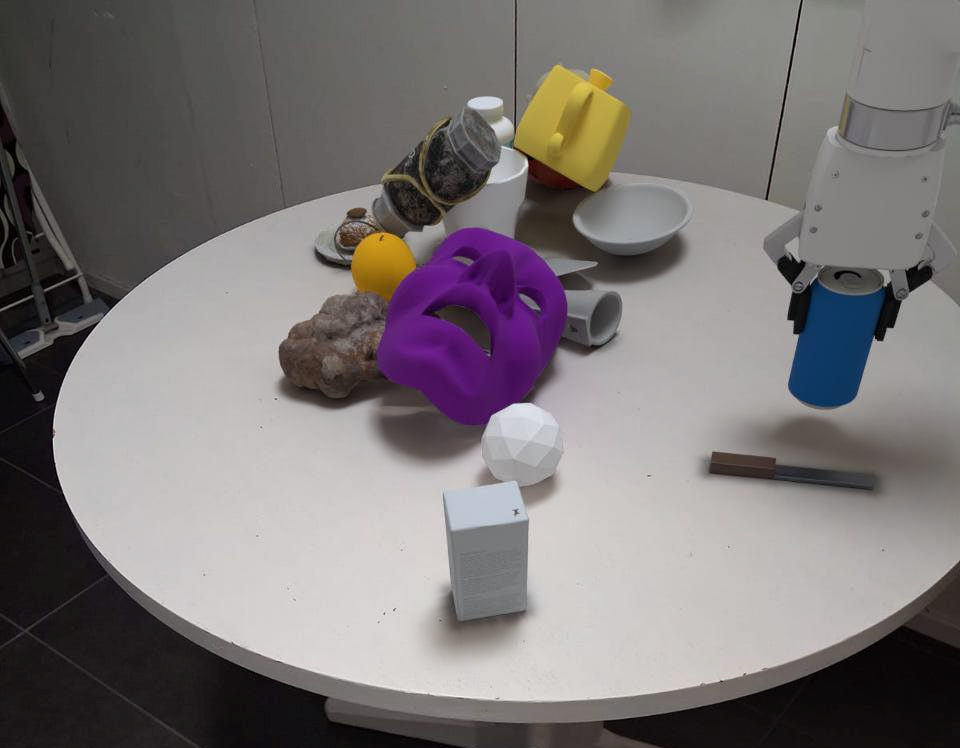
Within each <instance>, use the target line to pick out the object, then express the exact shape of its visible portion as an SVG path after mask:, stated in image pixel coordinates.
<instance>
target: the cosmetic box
mask: <svg viewBox="0 0 960 748" xmlns="http://www.w3.org/2000/svg"><path fill="white" fill-rule="evenodd" d="M442 503H443V504H442V505H443V514H444V525H445V535H446V545H447V554H448V555H447V556H448V568H449V577H450V578H449V579H450V581H449V582H450V587H451V591H452V597H453V602H454V607H455V613H456V618H457V621H458V622H465V621H470V620H471V621H472V620H477V619H483V618H490V617H494V616H500V615H507V614H512V613H519V612H526V611H527V603H528V602H527V601H528V571H529V570H528V568H529V526H530V518H529V515H528V511H527V509H526V505H525V502H524V499H523V496H522V492H521V489H520V487H519V485H518V482H517V481H510V482H499V483H492V484H485V485H480V486H473V487H467V488H460V489H455V490H448V491H443V492H442Z"/></svg>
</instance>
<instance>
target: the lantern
mask: <svg viewBox="0 0 960 748" xmlns="http://www.w3.org/2000/svg"><path fill="white" fill-rule="evenodd" d="M501 149H502V147H501V145H500V143H499V140H498V138H497V136H496V133H495V131H494V129H493V128H492V127H491V126H490V125H489V124H488V123H487V122H486V121H485V120H484V118H483V117H482V116H481V115H480V114H479V113H478V112H477V111H476V110H475V109H470V108H467V106H466V107H465V106H463V107H462V108H461V109H460V110H459V111H458V112H457V113H456V114H455V116H454V117H452V116H450V115H447V116H445V117H443V118H442V119H441V120H440V121H438V122H437V123H435V124H434V125H433V126H432V127H431V128H430V130H429V132H428V133H427V134H426V136H424V137H423V139H422V140H420V141H419V143H418V144H417V145H415V147H414V148H412V150H410V152H409V153H408V154H407V155H406V156H405V157H404V158H403V159H402V160H401V161H400V162H399V163H397V165H396V166H394V167H391V168H390V169H388V170H387V171H386V172H385V173H384V175H383V176H382V178H381V180H380V183H381V186H382V190H381V193H380V196H379V197H376V198H374V199H373V200H372V202H371V207H370V209H371V210H370V211H371V215H372V216H373V218H374V220H375V221H376V225H377V228H376V227H375V226H373V225H371V224H369V223H367V222H364V221H359V220H352V221H348V222H346V223H343V224H342V225H341V226H339V228H338V229H337V230H336V232H335V236H334V244H335V248H336V250H337V252H338V254H339V255H340V257H341V258H342V259H343V260H344V261H346V262H347V263H349V264H350V265H351V264H352V261H351V262H349V261H348V260H346V259H345V258H344V257H343V256H342V255H341V253H340V252H339V250H338V248H337V245H336V236H337V233H338V231H339V230H340V229H341V227H343V226H344V225H346V224H349V223H363V224H366V225H369V226H371V227H372V228H374V229H375V233H381V232H380V231H382V232H384V233H390V234H393V235H396V236H398V237H399V238H401V239H403V238H404V239H405V236H406V235H407V234H408V233H409V232H413V233H423V231H424V228H425V227H426V226H428V227H433V226H436V225H438V224H440V223H441V222H443V221H442V219H443V218H444V217H445V214H446V213H447V212H448V211H449V210H450V209H452V208H453V207H454V206H455V205H457V204H460V203H463V202H465V201H467V200H469V199H471V198H472V197H474V196H475V195H476V194H477V193H479V192H480V191H481V190H482V188H483V187H484V186H485V185H486V183H487V181H488V179H489V177H490V174H491V170H492V168H493V167H494V166H495V165H497V164H498V163H499V160H500V155H501ZM404 239H403V240H404Z"/></svg>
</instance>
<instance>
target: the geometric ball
mask: <svg viewBox="0 0 960 748" xmlns="http://www.w3.org/2000/svg"><path fill="white" fill-rule="evenodd" d="M564 453H565V448H564V435H563V431H562V429H561V427H560V425H559V424H558V422H557V421H556V420H555V418H554V416H553V415H552V414H551V413H550V412H548V411H547V410H545V409H543V408H541V407H539V406H537V405H536V404H534V403H531V402H520V403H518V404H512V405H510V406H509V407H507V408H505V409H503V410H501V411H499V412H497V413H496V414H494V415H492V416H491V418H490V420H489V423H488V424H487V425H486V427H485V429H484V432H483V434H482V436H481V457H482V459H483V461H484V463H485V464H486V466H487V467H488V469H489V471H490V472H491V474H492V476H493V477H494V478H495V479H498V480H500V481H501V482H502V483H504V482H510V481H517V482H518V485H519V488H520V487H529V486H533V485H536V484H538V483H540V482H542V481H544V480H545V479H547V478H549V477H551V476H553V475H554V474H555V471H556V470H557V468H558V465H559V463H560V462H561V459H562V457H563V455H564Z"/></svg>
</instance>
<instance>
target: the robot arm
mask: <svg viewBox="0 0 960 748" xmlns="http://www.w3.org/2000/svg"><path fill="white" fill-rule="evenodd" d="M853 53H854V54H853V58H852V63H851V67H850V71H849V76H848V80H847V85H846V90H845V92H844V93H845V94H844V98H843V103H842V108H841V112H840V117H839V122H838V125H836V126H832V127H830V128H829V129H827V131H826V133H825V135H824V138H823V140H822V143H821V144H820V145H821V146H820V148H819V151H818V154H817V157H816V159H815V163H814V166H813V170H812V172H811V176H810V180H809V184H808V187H807V191H806V195H805V199H804V203H803V207H802V210H800V211H799V212H798V213H796V214H795V215H794V216H792V217H791V218H790V219H788V220H787V221H785V222H783V224H781V225H780V226H777V228H776V229H774V230H773V231H771V232H770V233H768V234H767V235H766V236H765V237H764V239H763V243H762V244H763V245H762V248H763V252H765V253H766V255H767V256H768V258H769V259H770V260H771V261H772V263H773V264H774V265H775V266H776V268H777V271H778V272H779V273H780V274H781V276H782V277H783V278H784V279H785V281H786V282H787V283H788V284H789V285H790V286H791V296H790V300H789V305H788V310H787V316H786V321H791V322H793V324H792V325H793V326H792V327H793V328H792V335H798V336H799V333H802V329H803V324H804V320H805V316H806V311H807V307H808V302H809V298H810V285H811V283H812V282H813V280H814V279H815V276H816V275H818V272H819V270H820V269H821V268H823V267H824V266H832V267H846V268H862V269H877V270H878V271H888V273H889V279H890V281H889V282H887V283H886V285H885V286H884V285H883V286H884V288H885V291H886V296H885V300H884V303H883V307H882V310H881V314H880V317H879V321H878V324H877V328H876V331H875V335H874V340H876V342H884V340H885V338H886V337H885V336H886V335H887V334H886V333H887V330H888V329H894V328H895V326H896V323H897V319H898V315H899V312H900V309H901V307H902V303H903V301H905V300H906V299H907V298H908V297H909V296H910V293H911V292H913V291H915V290H916V289H918V288H920V287H921V286H923V285H925V284H926V283H928V282H929V281H931V279H932V278H933V276H934V275H936V274H939V273H940V272H942V271H943V270H945V269H946V268H947V267H949V266H950V265H952V264H954V263H955V262H956V260H957V259H958V253H957V249H956V247H955V246H954V244H953V243H952V242H951V240H950V239H949V238H948V237H947V235H946V234H945V233H944V232H943V230H942V229H941V227H940V226H939V225H938V224H937V223H936V221H935V220H934V214H935V210H936V206H937V202H938V197H939V193H940V187H941V180H942V175H943V171H944V163H945V160H944V159H945V155H946V154H945V152H946V135H945V134H944V133H943V132H946V130H947V127H952V126H960V104H958V103H957V102H953V98H951V96H952V92H953V89H954V87H955V83H956V79H957V77H958V72H959V70H960V69H959V68H960V0H865V1H864V7H863V12H862V16H861V20H860V25H859V29H858V34H857V39H856V43H855V48H854V52H853ZM796 238H797V239H798V250H797V252H798V253H797V254H798V258H799V260H797V258H795V255H793V254H792V253H791V251H789V250H788V249H787V247H786V245H787V244H788V243H790V242H791V241H793V240H794V239H796ZM927 246H928V247H929V248H930V250H931V251H932V253H931V254H930V255H929V256H928V257H926V258H925V259H922V257H924V256H923V255H924V252H925V249H926V247H927Z"/></svg>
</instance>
